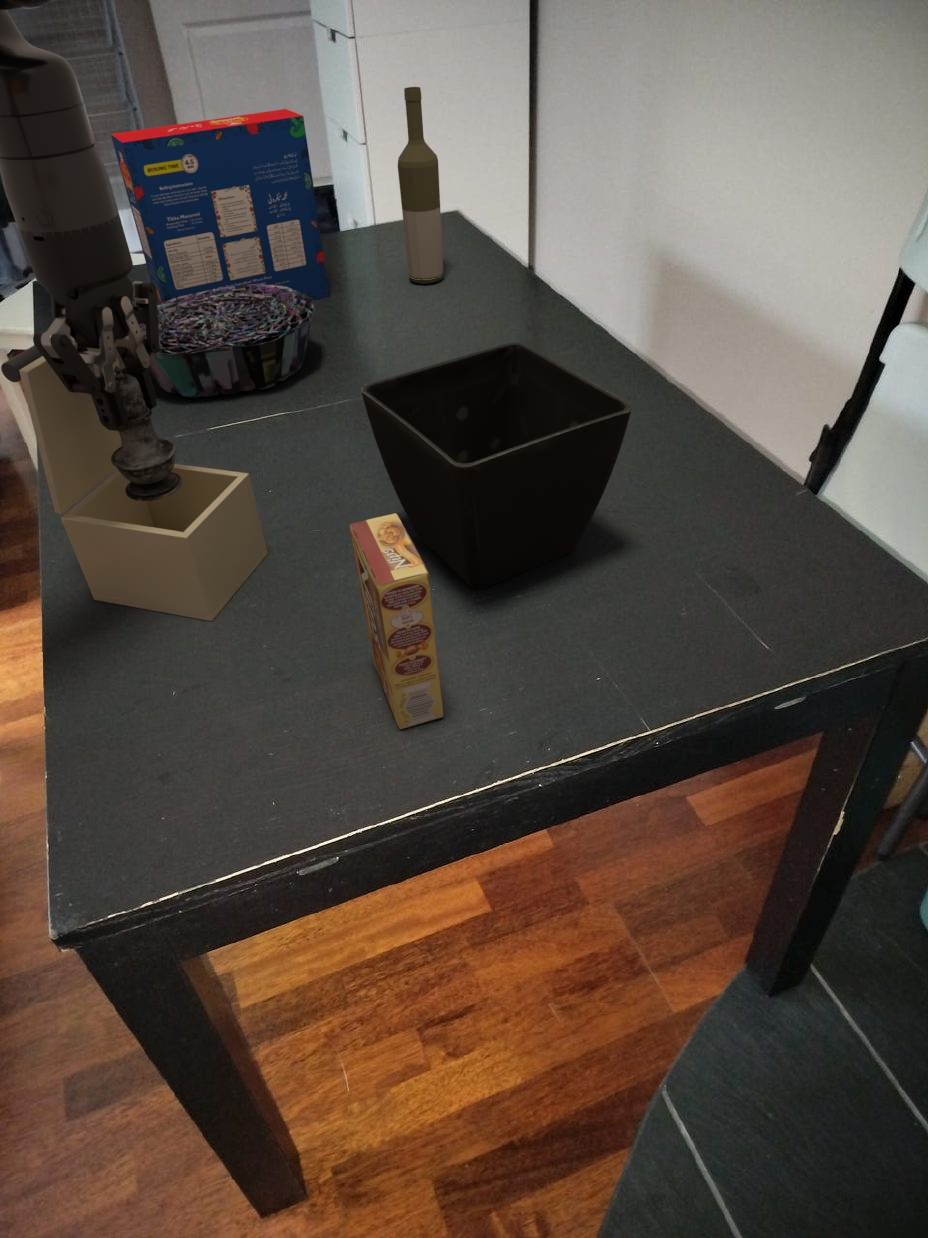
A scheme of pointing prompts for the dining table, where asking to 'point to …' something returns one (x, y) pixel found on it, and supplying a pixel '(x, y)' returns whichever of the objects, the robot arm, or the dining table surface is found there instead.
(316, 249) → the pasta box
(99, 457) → the lid
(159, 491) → the salt shaker
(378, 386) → the flower pot
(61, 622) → the dining table surface
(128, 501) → the tan lidded cardboard box
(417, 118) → the bottle
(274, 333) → the decorative bowl
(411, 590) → the candy box
